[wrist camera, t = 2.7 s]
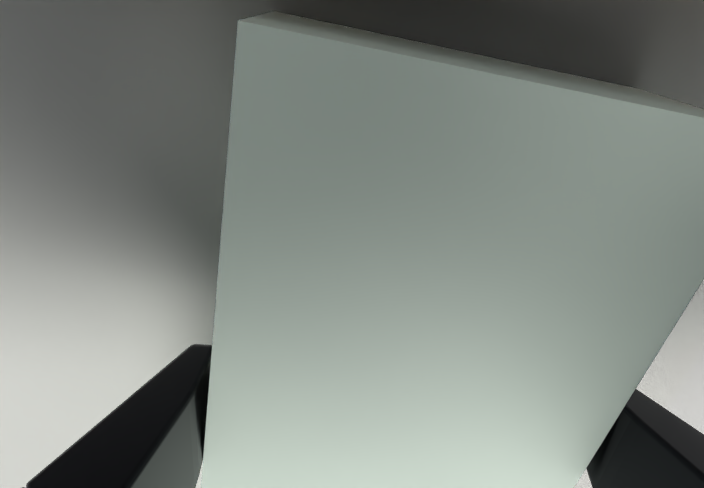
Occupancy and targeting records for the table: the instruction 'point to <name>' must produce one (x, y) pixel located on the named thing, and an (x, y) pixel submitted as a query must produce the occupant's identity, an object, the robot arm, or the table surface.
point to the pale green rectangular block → (438, 262)
